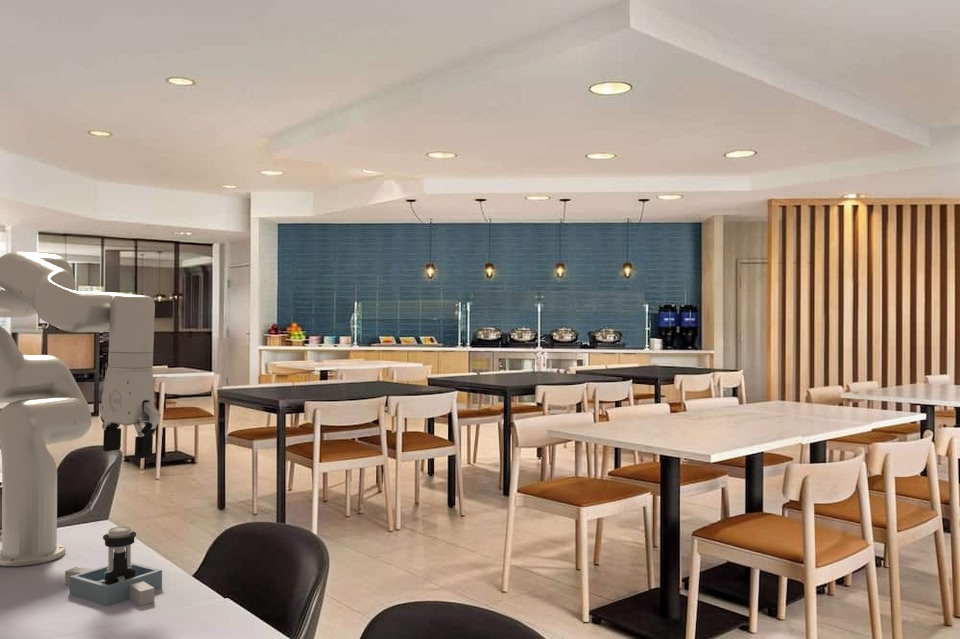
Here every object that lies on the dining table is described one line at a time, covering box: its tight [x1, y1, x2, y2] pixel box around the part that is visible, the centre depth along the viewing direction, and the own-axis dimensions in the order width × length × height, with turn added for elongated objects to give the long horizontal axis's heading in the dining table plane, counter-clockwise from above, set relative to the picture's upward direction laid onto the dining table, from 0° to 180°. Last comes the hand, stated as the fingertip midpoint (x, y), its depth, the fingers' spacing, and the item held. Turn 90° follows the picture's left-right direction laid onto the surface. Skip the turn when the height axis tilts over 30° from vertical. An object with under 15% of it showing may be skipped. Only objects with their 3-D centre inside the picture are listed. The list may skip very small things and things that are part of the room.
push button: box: [96, 526, 137, 585], centre depth 138 cm, size 7×5×10 cm
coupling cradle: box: [64, 561, 163, 607], centre depth 138 cm, size 22×11×3 cm, turn 60°
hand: (127, 453), depth 145 cm, fingers open, 9 cm apart
